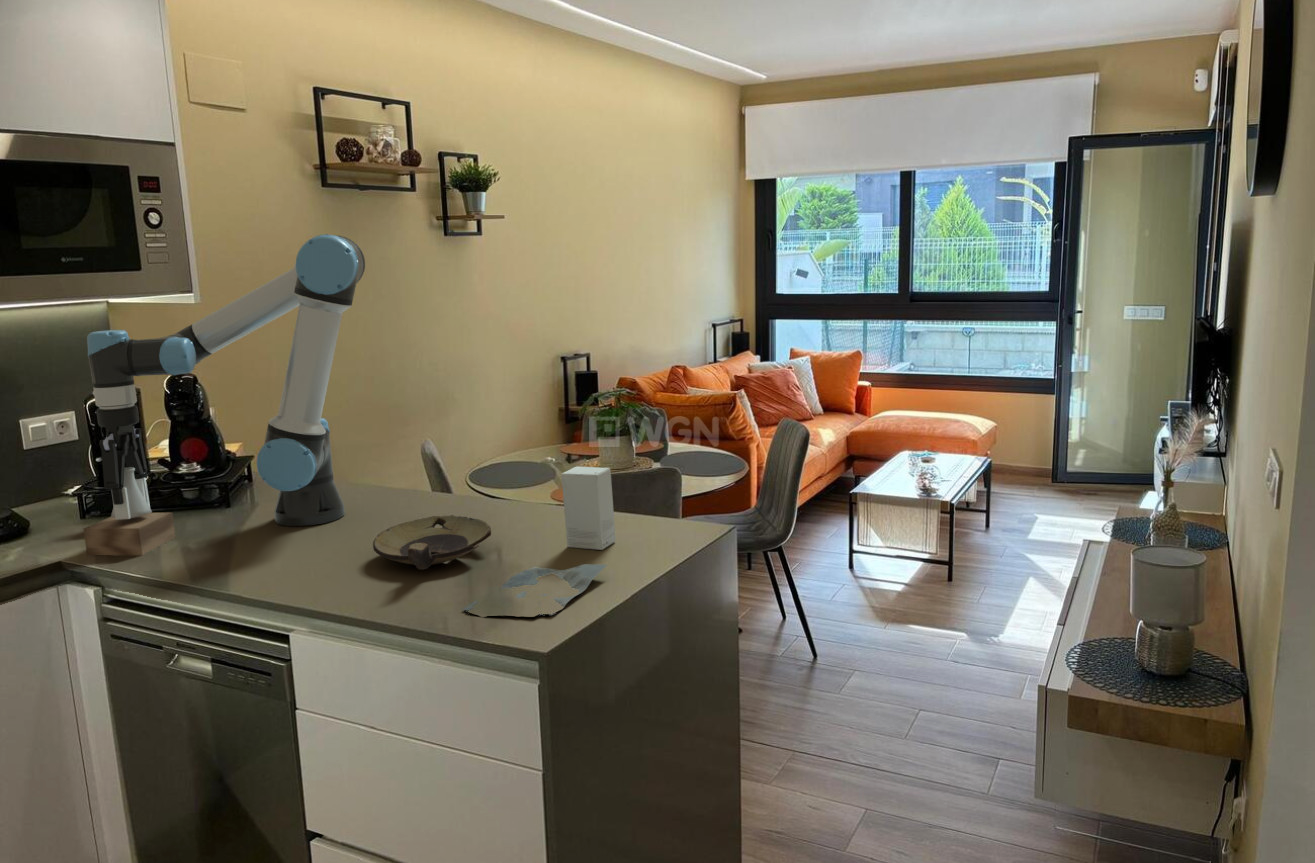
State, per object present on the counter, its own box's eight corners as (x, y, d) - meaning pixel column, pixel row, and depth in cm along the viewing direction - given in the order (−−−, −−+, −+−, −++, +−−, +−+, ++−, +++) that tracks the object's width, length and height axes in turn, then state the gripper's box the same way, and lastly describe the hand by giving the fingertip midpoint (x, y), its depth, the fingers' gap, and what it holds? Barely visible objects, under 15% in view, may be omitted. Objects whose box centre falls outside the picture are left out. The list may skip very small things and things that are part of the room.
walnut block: (175, 539, 214) (172, 512, 212) (142, 556, 202) (138, 528, 201) (123, 539, 215) (119, 512, 214) (87, 556, 203) (83, 528, 202)
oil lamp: (512, 542, 203) (510, 506, 201) (436, 592, 175) (432, 550, 173) (417, 536, 210) (415, 501, 208) (329, 582, 182) (325, 542, 180)
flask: (158, 511, 210) (153, 465, 208) (130, 521, 203) (124, 473, 201) (132, 509, 212) (126, 464, 210) (104, 518, 205) (97, 471, 203)
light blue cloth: (543, 634, 158) (541, 621, 157) (459, 624, 164) (457, 611, 164) (609, 576, 180) (607, 564, 179) (533, 569, 186) (531, 558, 185)
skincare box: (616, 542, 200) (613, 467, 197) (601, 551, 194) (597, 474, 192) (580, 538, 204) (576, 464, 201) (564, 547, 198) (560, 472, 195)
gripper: (120, 399, 213) (134, 502, 217) (73, 415, 193) (89, 528, 197) (156, 397, 213) (169, 500, 217) (112, 413, 193) (128, 526, 198)
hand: (131, 513), depth 207 cm, fingers closed on flask, 7 cm apart
